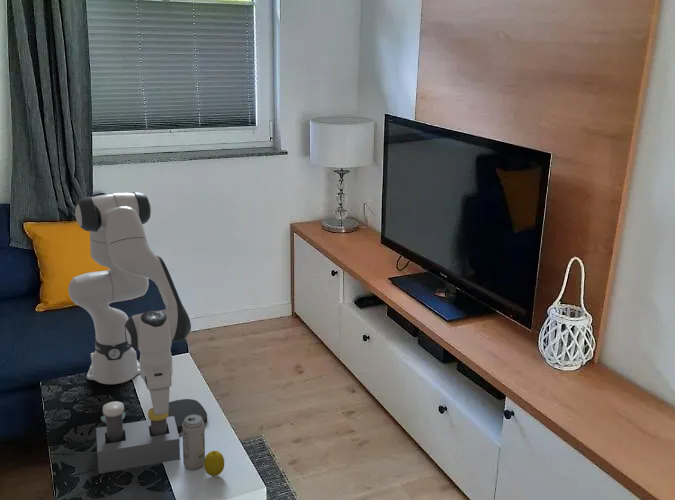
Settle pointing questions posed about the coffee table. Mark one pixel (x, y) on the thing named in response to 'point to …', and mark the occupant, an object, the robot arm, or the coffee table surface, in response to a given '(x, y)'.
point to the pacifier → (105, 417)
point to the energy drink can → (193, 442)
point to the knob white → (114, 421)
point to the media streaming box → (185, 411)
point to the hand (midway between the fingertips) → (158, 411)
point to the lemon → (214, 463)
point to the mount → (137, 446)
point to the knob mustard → (158, 423)
